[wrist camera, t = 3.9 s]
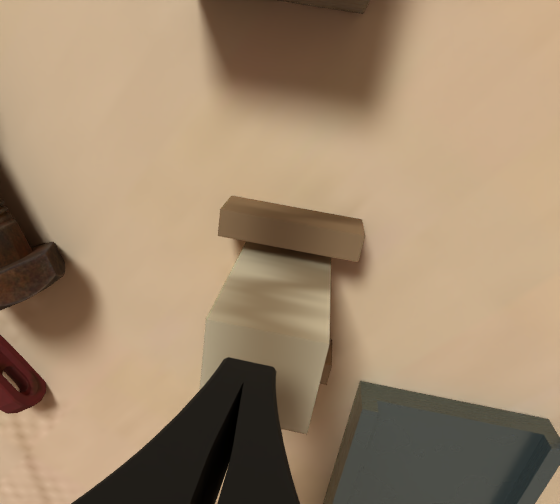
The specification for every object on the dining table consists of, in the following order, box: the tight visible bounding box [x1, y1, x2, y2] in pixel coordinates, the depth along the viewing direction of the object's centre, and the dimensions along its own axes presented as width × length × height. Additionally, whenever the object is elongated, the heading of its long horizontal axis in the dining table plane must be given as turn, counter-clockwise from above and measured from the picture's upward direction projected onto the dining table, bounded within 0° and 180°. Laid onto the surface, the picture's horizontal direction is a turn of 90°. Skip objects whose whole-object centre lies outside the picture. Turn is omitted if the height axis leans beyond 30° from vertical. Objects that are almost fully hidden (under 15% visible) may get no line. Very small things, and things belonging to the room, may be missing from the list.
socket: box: [218, 196, 365, 385], centre depth 19 cm, size 6×8×2 cm
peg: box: [200, 241, 331, 434], centre depth 17 cm, size 4×4×7 cm
